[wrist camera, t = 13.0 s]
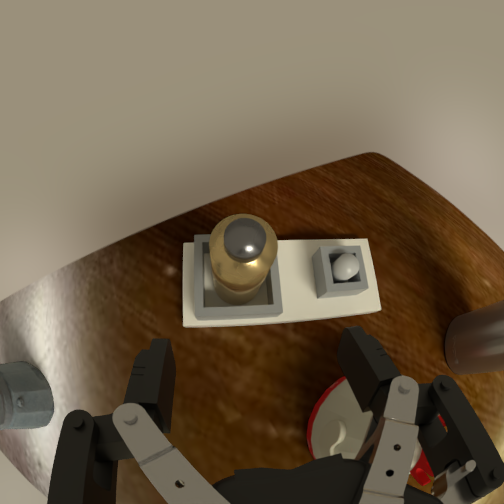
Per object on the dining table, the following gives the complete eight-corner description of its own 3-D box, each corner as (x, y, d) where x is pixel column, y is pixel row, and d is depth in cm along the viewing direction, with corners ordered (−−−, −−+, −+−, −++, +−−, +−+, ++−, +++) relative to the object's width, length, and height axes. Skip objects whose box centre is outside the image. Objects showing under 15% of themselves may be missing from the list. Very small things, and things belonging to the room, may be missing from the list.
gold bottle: (257, 259, 29) (277, 205, 19) (261, 303, 28) (285, 270, 17) (212, 261, 29) (208, 205, 18) (214, 305, 27) (209, 273, 17)
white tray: (362, 243, 33) (382, 224, 28) (374, 312, 30) (400, 302, 25) (185, 248, 31) (178, 226, 26) (185, 327, 27) (176, 320, 22)
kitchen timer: (406, 359, 28) (499, 346, 14) (405, 454, 23) (486, 478, 9) (304, 378, 26) (376, 394, 13) (306, 484, 21) (361, 551, 8)
